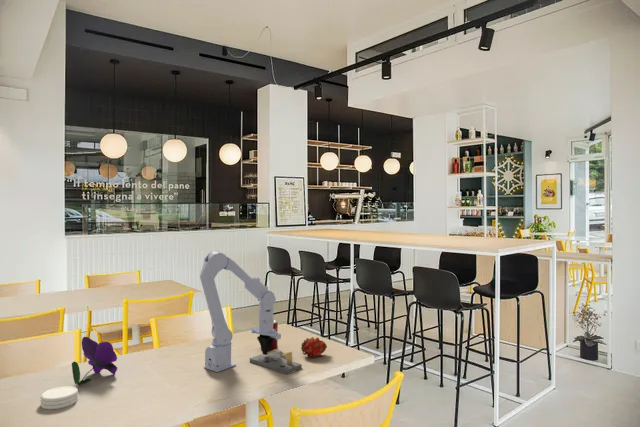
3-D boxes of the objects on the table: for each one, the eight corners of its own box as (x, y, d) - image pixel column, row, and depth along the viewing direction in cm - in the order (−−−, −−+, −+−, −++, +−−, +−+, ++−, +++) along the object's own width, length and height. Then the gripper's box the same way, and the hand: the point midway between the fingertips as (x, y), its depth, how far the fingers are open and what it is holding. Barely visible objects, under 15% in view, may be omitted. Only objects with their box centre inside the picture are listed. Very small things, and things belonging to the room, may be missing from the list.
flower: (102, 401, 149) (127, 370, 161) (86, 369, 142) (113, 339, 154) (68, 395, 153) (94, 366, 164) (50, 364, 146) (79, 335, 158)
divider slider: (270, 362, 169) (270, 353, 169) (264, 360, 171) (264, 351, 171) (280, 358, 174) (280, 349, 174) (275, 356, 175) (275, 347, 175)
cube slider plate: (287, 374, 162) (287, 357, 162) (249, 362, 174) (249, 346, 174) (301, 368, 168) (301, 352, 168) (264, 356, 180) (264, 342, 180)
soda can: (258, 348, 191) (258, 320, 191) (274, 346, 194) (274, 319, 194) (263, 353, 185) (263, 324, 185) (279, 351, 188) (280, 323, 188)
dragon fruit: (298, 361, 180) (324, 361, 185) (306, 354, 174) (333, 354, 179) (295, 341, 185) (321, 342, 190) (304, 333, 179) (330, 334, 184)
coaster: (84, 396, 141) (84, 385, 141) (67, 410, 131) (67, 398, 131) (52, 396, 141) (52, 385, 141) (33, 410, 131) (33, 398, 131)
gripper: (286, 321, 175) (285, 355, 175) (260, 315, 184) (260, 347, 184) (273, 324, 169) (273, 359, 169) (247, 318, 178) (247, 351, 178)
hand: (265, 353), depth 176 cm, fingers closed
